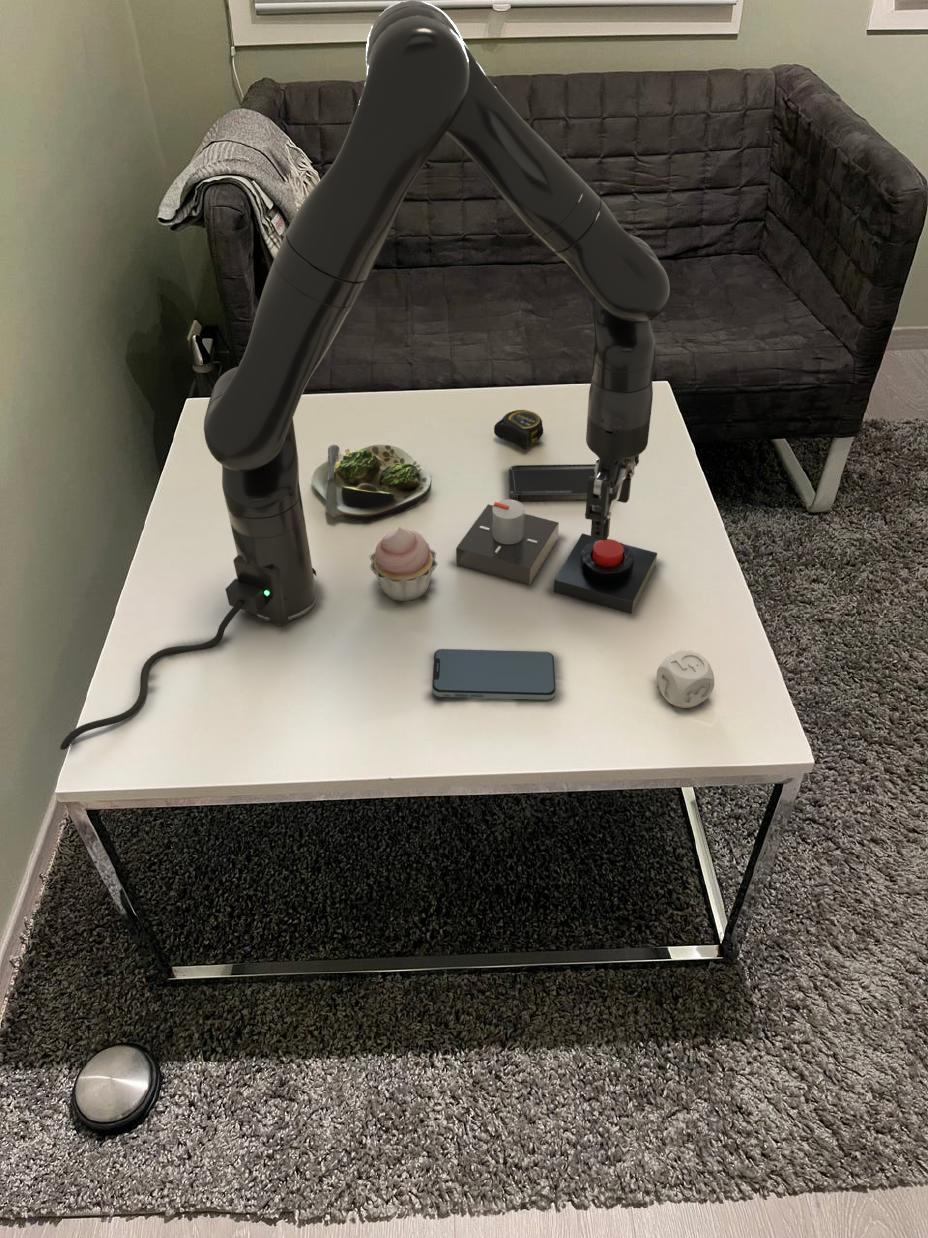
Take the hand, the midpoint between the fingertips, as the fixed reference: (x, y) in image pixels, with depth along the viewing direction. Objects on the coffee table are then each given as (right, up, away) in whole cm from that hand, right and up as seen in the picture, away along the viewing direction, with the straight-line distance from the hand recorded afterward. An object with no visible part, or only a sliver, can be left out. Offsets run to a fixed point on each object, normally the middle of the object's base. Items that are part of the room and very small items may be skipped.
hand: (610, 518), depth 132 cm
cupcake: (-27, -9, +6) cm, 29 cm away
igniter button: (0, -5, +4) cm, 7 cm away
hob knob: (-13, -1, +9) cm, 16 cm away
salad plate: (-33, +7, +23) cm, 41 cm away
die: (+8, -22, -9) cm, 25 cm away
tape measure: (-10, +15, +32) cm, 37 cm away
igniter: (0, -8, +7) cm, 10 cm away
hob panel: (-13, -4, +11) cm, 17 cm away
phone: (-5, +7, +22) cm, 24 cm away
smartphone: (-15, -21, -7) cm, 27 cm away
